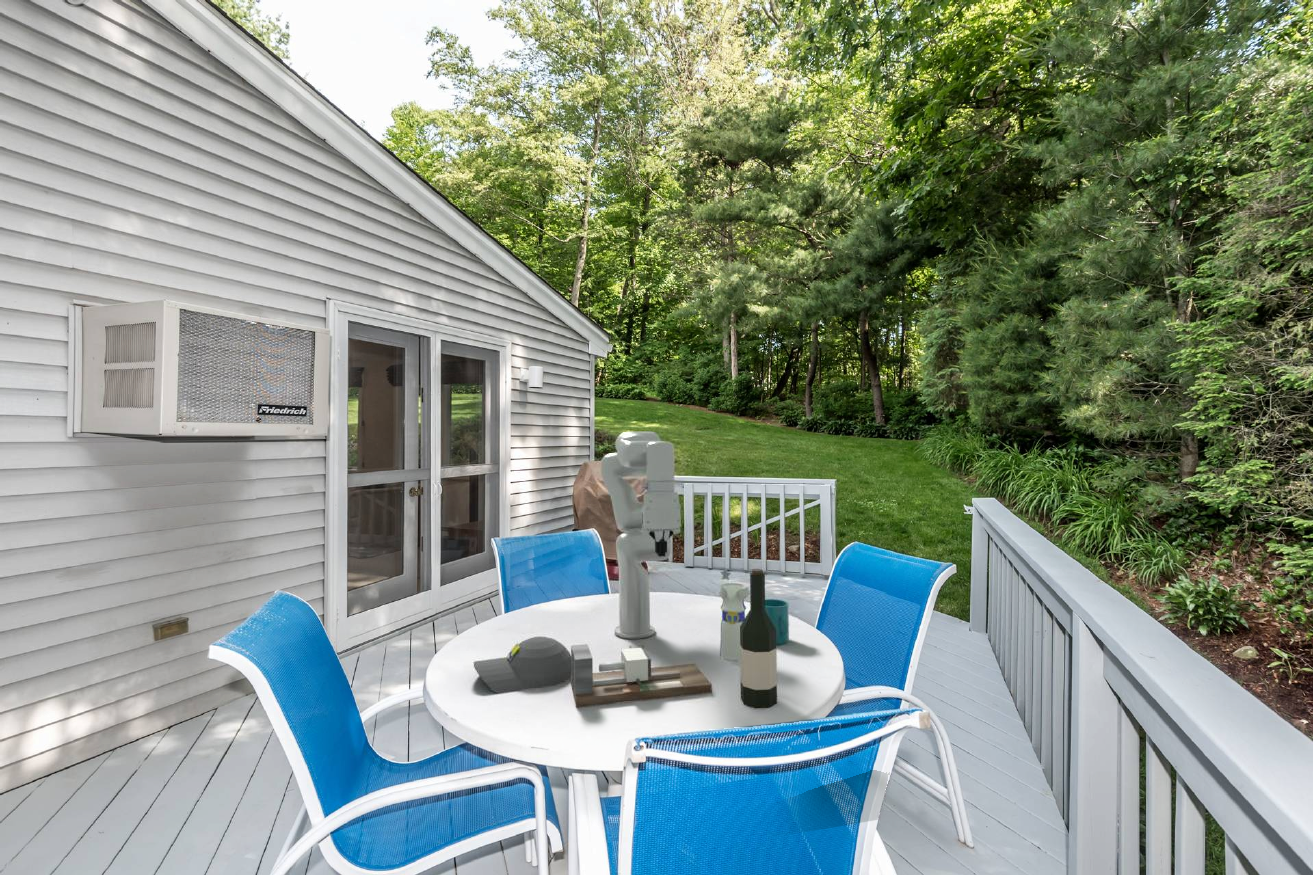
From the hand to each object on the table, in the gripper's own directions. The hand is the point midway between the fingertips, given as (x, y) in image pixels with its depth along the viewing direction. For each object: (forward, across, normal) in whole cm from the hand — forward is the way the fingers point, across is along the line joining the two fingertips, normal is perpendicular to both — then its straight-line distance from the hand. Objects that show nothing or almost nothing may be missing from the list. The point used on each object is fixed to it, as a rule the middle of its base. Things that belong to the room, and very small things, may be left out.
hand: (661, 555), depth 162 cm
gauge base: (+29, -9, -14) cm, 34 cm away
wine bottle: (+29, +16, -28) cm, 44 cm away
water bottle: (+29, +21, +1) cm, 36 cm away
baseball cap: (+30, -36, +1) cm, 47 cm away
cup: (+29, +37, +9) cm, 48 cm away
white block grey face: (+26, -13, -15) cm, 33 cm away
